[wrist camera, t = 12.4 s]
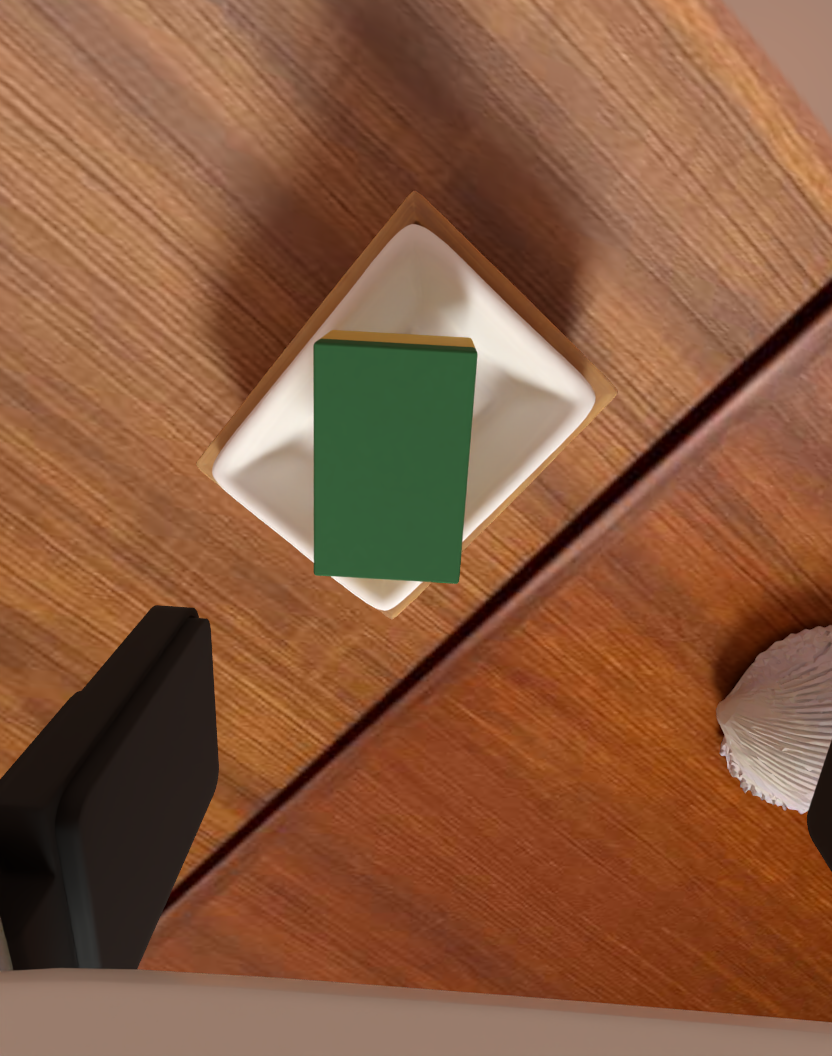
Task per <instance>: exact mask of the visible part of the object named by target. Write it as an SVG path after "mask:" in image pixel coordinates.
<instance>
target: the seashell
mask: <svg viewBox="0 0 832 1056" xmlns="http://www.w3.org/2000/svg"><path fill="white" fill-rule="evenodd" d="M716 715H717V720H718V722H719V724H720V726H721V728H722V730H723V732H724V734H725V735H724V738H723V740H722V743H721V749H720V755H721V756H726V759H727V766H728V769H729V771H730V774H731V776H733V777H737V778H738V779H739V780H740V781H741V784H740V787H742V788H743V791H744V792H746V791H748V790H750V791H752V795H754V796H755V795H756V796H759V797H761V798H762V799H761V800H764V799H765V800H766V801H767V802H768V803H771V804H773V805H774V804H776V805H777V806H780V805H781V806H783V809H784V810H786V806H787V807H788V809H793V810H798V811H799V813H800V814H803V813H805V812H806V811H808V810H809V807H810V803H811V800H812V797H813V794H814V791H815V788H816V785H817V782H818V779H819V776H820V773H821V770H822V767H823V764H824V761H825V758H826V755H827V752H828V749H829V746H830V743H831V740H832V625H829V626H827V627H825V628H824V627H821V626H817V627H815V628H813V629H811V630H808V629H804V630H802V631H801V632H799V633H797V634H792V633H791V634H790V635H789V636H788V637H786V638H785V639H784V640H782V641H777V642H775V643H773V644H772V645H771V646H770V647H769V648H768V649H767V650H766V651H764V652H762V653H760V654H759V655H758V656H757V657H756V659H755V662H754V663H753V664H751V666H750V667H749V668H748V669H747V670H746V672H745V673H744V675H743V676H742V677H741V679H740V680H739V682H738V683H737V685H736V686H735V687H734V689H733V690H732V692H731V693H730V694H729V695H728V696H727V697H726V698H725V700H723V701H721V702H720V703H719V704H718V706H717V708H716Z"/></svg>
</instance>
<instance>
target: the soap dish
mask: <svg viewBox="0 0 832 1056" xmlns="http://www.w3.org/2000/svg"><path fill="white" fill-rule="evenodd" d="M332 330H344V331H361V332H379V333H397V334H414V335H432V336H450V337H468V338H471V339H472V341H473V343H474V346H475V348H476V351H477V354H478V357H477V369H476V381H475V393H474V405H473V418H472V430H471V442H470V454H469V466H468V479H467V491H466V503H465V515H464V528H463V540H462V552H463V550H464V549H466V548H467V547H468V546H469V545H470V543H471V542H472V541H473V540H474V539H475V538H476V537H477V536H478V535H479V534H480V533H481V532H482V531H483V530H484V529H485V528H486V527H487V526H489V525H490V523H492V522H493V520H494V519H496V518H497V516H498V515H499V514H500V513H501V512H502V511H504V510H505V508H506V507H507V506H508V505H509V504H510V503H511V502H513V500H514V499H515V498H516V497H517V496H518V495H520V494H521V492H522V491H523V490H524V489H525V488H526V487H527V486H528V485H529V484H530V483H531V482H532V481H533V480H534V479H535V478H536V477H537V476H538V475H539V474H540V473H541V472H542V471H543V470H544V469H545V468H546V467H547V466H548V465H549V464H550V463H551V462H552V461H553V460H554V459H555V458H556V457H557V455H558V454H559V453H560V452H561V451H562V450H563V449H564V448H565V447H566V446H567V445H568V444H570V443H571V442H572V440H573V439H574V438H575V437H576V436H577V435H578V434H579V433H580V432H581V431H582V430H583V429H584V428H585V427H586V426H587V425H588V424H589V423H590V422H591V421H592V420H593V419H594V418H595V417H596V416H597V415H598V414H599V413H600V412H601V411H602V410H603V409H604V408H605V407H606V406H607V405H608V404H609V403H610V402H611V401H612V399H613V398H614V397H615V396H616V395H617V393H618V391H617V389H616V388H615V387H614V385H613V384H612V383H611V382H610V381H609V380H608V379H607V378H606V377H605V376H604V375H603V374H602V373H601V372H600V371H599V370H598V369H597V368H596V366H594V365H593V364H592V363H591V362H590V361H589V360H588V359H587V358H586V357H585V356H584V354H583V353H582V352H581V351H580V350H579V349H578V348H577V347H576V346H575V345H574V344H573V343H572V342H570V341H569V340H568V339H567V338H566V336H565V335H564V334H563V333H561V332H560V330H559V329H558V328H557V327H556V326H554V325H553V324H552V323H551V322H550V321H549V320H548V319H547V318H546V317H545V316H544V315H543V314H542V313H541V312H540V311H539V310H538V309H537V308H536V307H535V306H534V305H533V303H531V302H530V301H529V300H528V299H527V298H526V297H525V296H524V295H523V294H522V293H521V292H520V291H519V290H518V289H517V288H516V287H515V286H514V285H513V284H512V283H511V282H510V281H509V280H508V279H507V278H506V277H505V276H504V275H503V274H502V273H501V272H500V271H499V270H498V269H497V268H496V267H495V266H493V265H492V264H491V263H490V262H489V261H488V260H487V259H486V258H485V257H484V256H483V255H482V254H481V253H480V252H479V251H478V250H477V249H476V248H475V247H474V246H473V245H472V244H471V243H470V242H469V241H468V240H467V239H466V238H465V237H464V236H463V235H462V234H461V233H460V232H459V231H458V230H457V229H456V228H455V227H454V226H453V225H452V224H451V223H450V222H449V221H448V220H447V219H446V218H445V217H444V216H443V215H442V214H441V213H440V212H439V211H438V210H437V209H436V208H435V207H434V206H433V205H432V204H431V203H430V202H429V201H428V200H427V199H426V198H424V197H423V196H422V195H421V194H420V193H418V192H417V191H412V192H411V193H410V195H409V196H408V197H407V198H406V199H405V200H404V201H403V203H402V204H401V205H400V206H399V208H398V209H397V210H396V211H395V213H394V214H393V215H392V216H391V218H390V219H389V220H388V221H387V222H386V224H385V225H384V227H383V228H382V229H381V230H380V231H379V232H378V234H377V235H376V236H375V237H374V239H373V240H372V241H371V242H370V244H369V245H368V246H367V248H366V249H365V250H364V251H363V252H362V254H361V255H360V256H359V257H358V258H357V260H356V261H355V262H354V264H353V265H352V266H351V267H350V268H349V270H348V271H347V272H346V273H345V275H344V276H343V277H342V278H341V280H340V281H339V282H338V283H337V285H336V286H335V287H334V289H333V290H332V291H331V292H330V293H329V294H328V296H327V297H326V298H325V300H324V301H323V302H322V304H321V305H320V306H319V307H318V308H317V310H316V311H315V312H314V313H313V315H312V316H311V317H310V319H309V320H308V321H307V322H306V324H305V325H304V326H303V327H302V329H301V330H300V331H299V332H298V333H297V335H296V336H295V337H294V338H293V340H292V341H291V343H290V344H289V345H288V346H287V348H286V349H285V350H284V351H283V353H282V354H281V355H280V356H279V358H278V359H277V360H276V361H275V363H274V364H273V365H272V367H271V368H270V369H269V370H268V372H267V373H266V374H265V375H264V377H263V378H262V379H261V380H260V382H259V383H258V384H257V386H256V387H255V388H254V389H253V391H252V392H251V393H250V394H249V396H248V397H247V399H246V400H245V401H244V402H243V403H242V405H241V406H240V407H239V408H238V410H237V411H236V412H235V414H234V415H233V416H232V417H231V419H230V420H229V421H228V422H227V424H226V425H225V427H224V428H223V429H222V430H221V431H220V433H219V434H218V435H217V436H216V438H215V439H214V440H213V442H212V443H211V444H210V445H209V447H208V448H207V449H206V450H205V452H204V453H203V454H202V455H201V457H200V458H199V460H198V461H197V463H196V465H197V467H198V468H199V469H200V470H201V471H202V472H203V473H204V474H205V475H206V476H208V477H209V478H210V479H211V480H212V481H214V482H215V483H216V484H217V485H219V486H220V487H221V488H223V489H224V490H225V491H226V492H227V493H228V494H230V495H231V496H232V497H233V498H234V499H236V500H237V501H238V502H239V503H240V504H242V505H243V506H244V507H245V508H246V509H248V510H249V511H250V512H252V513H253V514H254V515H255V516H257V517H258V518H259V519H260V520H262V521H263V522H264V523H265V524H267V525H268V526H269V527H270V528H272V529H273V530H274V531H275V532H277V533H278V534H279V535H281V536H282V537H283V538H284V539H285V540H287V541H288V542H289V543H290V544H292V545H293V546H294V547H295V548H297V549H298V550H299V551H300V552H301V553H302V554H304V555H305V556H306V557H307V558H308V559H310V560H311V561H312V562H313V563H314V383H313V345H314V343H315V342H316V341H317V340H319V339H320V338H322V337H323V336H324V335H326V334H327V333H329V332H330V331H332ZM462 552H461V553H462ZM331 577H332V578H334V579H335V580H336V581H337V582H339V583H340V584H341V585H343V586H344V587H345V588H347V589H348V590H349V591H350V592H352V593H353V594H354V595H356V596H357V597H359V598H360V599H362V600H363V601H364V602H366V603H367V604H369V605H371V606H372V607H374V608H376V609H378V610H379V611H380V612H382V613H383V614H384V615H385V616H387V617H388V618H390V619H393V618H395V617H396V616H398V615H399V614H400V613H401V612H402V611H403V610H404V609H405V608H406V607H407V606H408V605H409V604H410V603H411V602H412V601H413V600H414V599H415V598H417V597H418V596H419V595H420V593H421V592H422V591H423V590H424V589H425V588H426V587H427V586H428V585H429V584H430V583H431V582H420V581H403V580H386V579H370V578H353V577H336V576H331Z"/></svg>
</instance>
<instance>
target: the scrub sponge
mask: <svg viewBox="0 0 832 1056" xmlns="http://www.w3.org/2000/svg"><path fill="white" fill-rule="evenodd" d="M477 357H478V354H477V351H476V348H475V346H474V343H473V341H472V339H471V338H468V337H450V336H432V335H414V334H397V333H379V332H361V331H344V330H332V331H330V332H329V333H327V334H326V335H324V336H323V337H322V338H320V339H319V340H317V341H316V342H315V343H314V345H313V383H314V574H315V575H319V576H336V577H353V578H370V579H386V580H403V581H420V582H437V583H454V584H457V583H458V582H459V576H460V564H461V552H462V540H463V528H464V515H465V503H466V491H467V479H468V466H469V454H470V442H471V430H472V418H473V405H474V393H475V381H476V369H477Z"/></svg>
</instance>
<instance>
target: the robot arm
mask: <svg viewBox="0 0 832 1056" xmlns="http://www.w3.org/2000/svg"><path fill="white" fill-rule="evenodd" d="M218 773H219V761H218V745H217V728H216V711H215V694H214V677H213V660H212V643H211V628H210V623H209V620H208V619H203V618H199V616H198V613H197V611H196V609H195V608H187V607H173V606H159V605H157V606H154V607H152V608H151V609H150V610H149V612H148V613H147V614H146V615H145V616H144V617H143V619H142V620H141V621H140V622H139V623H138V625H137V626H136V627H135V628H134V629H133V630H132V632H131V633H130V634H129V635H128V636H127V638H126V639H125V640H124V641H123V642H122V644H121V645H120V646H119V647H118V648H117V649H116V651H115V652H114V653H113V654H112V655H111V657H110V658H109V659H108V660H107V661H106V662H105V664H104V665H103V666H102V667H101V668H100V670H99V671H98V672H97V673H96V674H95V676H94V677H93V678H92V679H91V680H90V681H89V683H88V684H87V685H86V686H85V687H84V689H83V690H82V691H79V692H77V693H75V694H74V695H73V696H72V697H71V698H70V699H69V700H68V701H67V702H66V703H65V704H64V706H63V707H62V708H61V709H60V710H59V712H58V713H57V714H56V715H55V716H54V717H53V719H52V720H51V721H50V722H49V723H48V724H47V726H46V727H45V728H44V729H43V730H42V731H41V733H40V734H39V735H38V736H37V737H36V738H35V740H34V741H33V742H32V743H31V744H30V745H29V747H28V748H27V749H26V750H25V751H24V752H23V754H22V755H21V756H20V757H19V758H18V759H17V761H16V762H15V763H14V764H13V765H12V766H11V768H10V769H9V770H8V771H7V772H6V773H5V775H4V776H3V777H2V778H1V779H0V1056H832V1022H821V1021H810V1020H798V1019H786V1018H774V1017H762V1016H750V1015H739V1014H727V1013H715V1012H703V1011H691V1010H679V1009H667V1008H655V1007H643V1006H631V1005H619V1004H607V1003H594V1002H582V1001H570V1000H558V999H546V998H534V997H521V996H509V995H496V994H483V993H470V992H457V991H444V990H431V989H418V988H405V987H392V986H379V985H366V984H353V983H340V982H327V981H314V980H301V979H288V978H273V977H256V976H239V975H222V974H205V973H188V972H171V971H154V970H138V969H137V968H138V966H139V963H140V961H141V959H142V957H143V954H144V952H145V950H146V947H147V945H148V943H149V941H150V938H151V936H152V934H153V931H154V929H155V927H156V925H157V922H158V920H159V918H160V916H161V913H162V911H163V909H164V906H165V904H166V902H167V900H168V897H169V895H170V893H171V890H172V888H173V886H174V884H175V881H176V879H177V877H178V874H179V872H180V870H181V868H182V865H183V863H184V861H185V858H186V856H187V854H188V852H189V849H190V847H191V845H192V843H193V840H194V838H195V836H196V833H197V831H198V829H199V827H200V824H201V822H202V820H203V817H204V815H205V813H206V811H207V808H208V806H209V804H210V801H211V799H212V797H213V795H214V792H215V789H216V785H217V780H218ZM807 825H808V830H809V834H810V836H811V838H812V841H813V842H814V844H815V846H816V847H817V849H818V850H819V852H820V854H821V855H822V857H823V858H824V860H825V862H826V863H827V865H828V867H829V868H830V870H831V871H832V740H831V743H830V746H829V749H828V752H827V755H826V758H825V761H824V764H823V767H822V770H821V773H820V776H819V779H818V782H817V785H816V788H815V791H814V794H813V797H812V800H811V803H810V807H809V810H808V814H807Z"/></svg>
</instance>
